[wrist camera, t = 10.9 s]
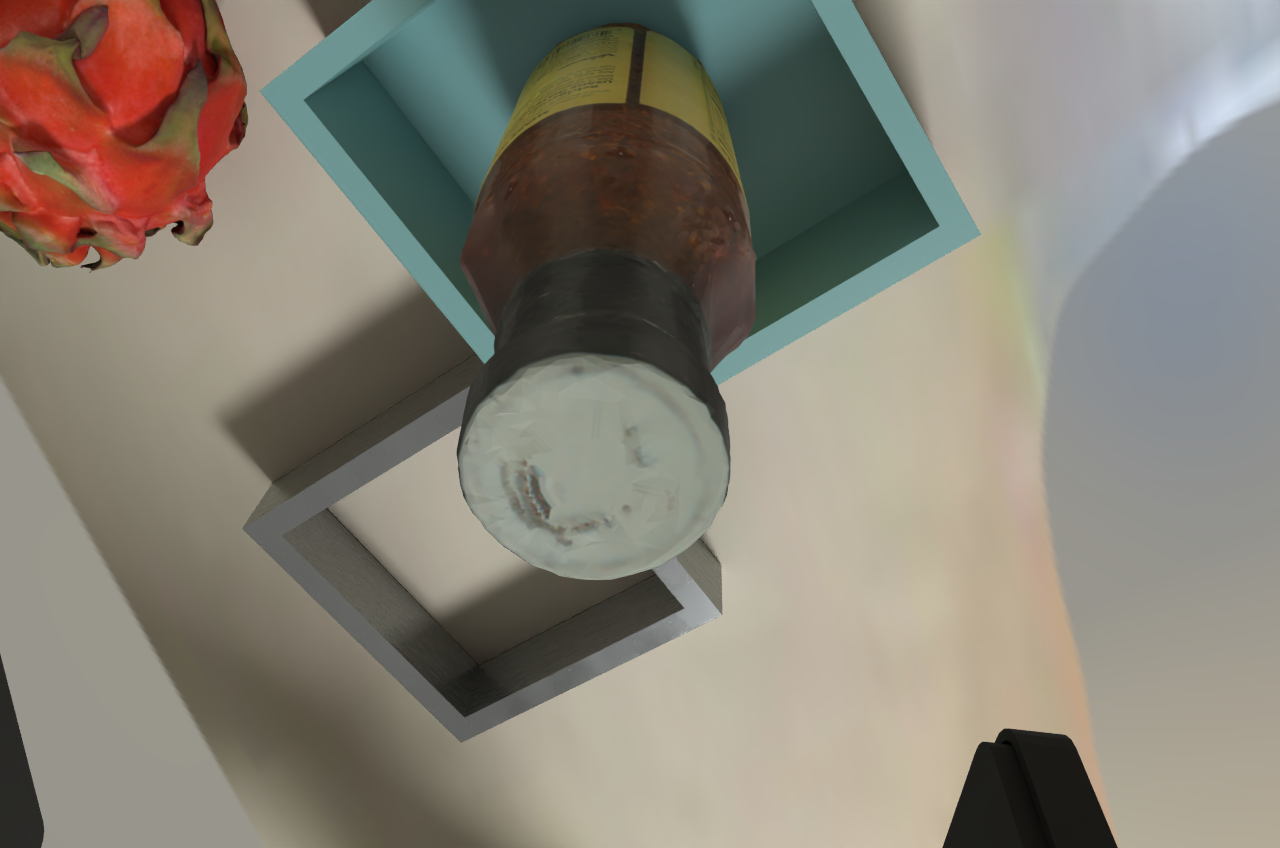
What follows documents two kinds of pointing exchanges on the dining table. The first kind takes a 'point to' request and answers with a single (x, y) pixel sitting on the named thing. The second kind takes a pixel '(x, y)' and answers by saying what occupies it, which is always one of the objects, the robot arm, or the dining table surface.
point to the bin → (755, 112)
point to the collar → (406, 632)
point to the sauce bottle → (606, 309)
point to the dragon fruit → (112, 123)
